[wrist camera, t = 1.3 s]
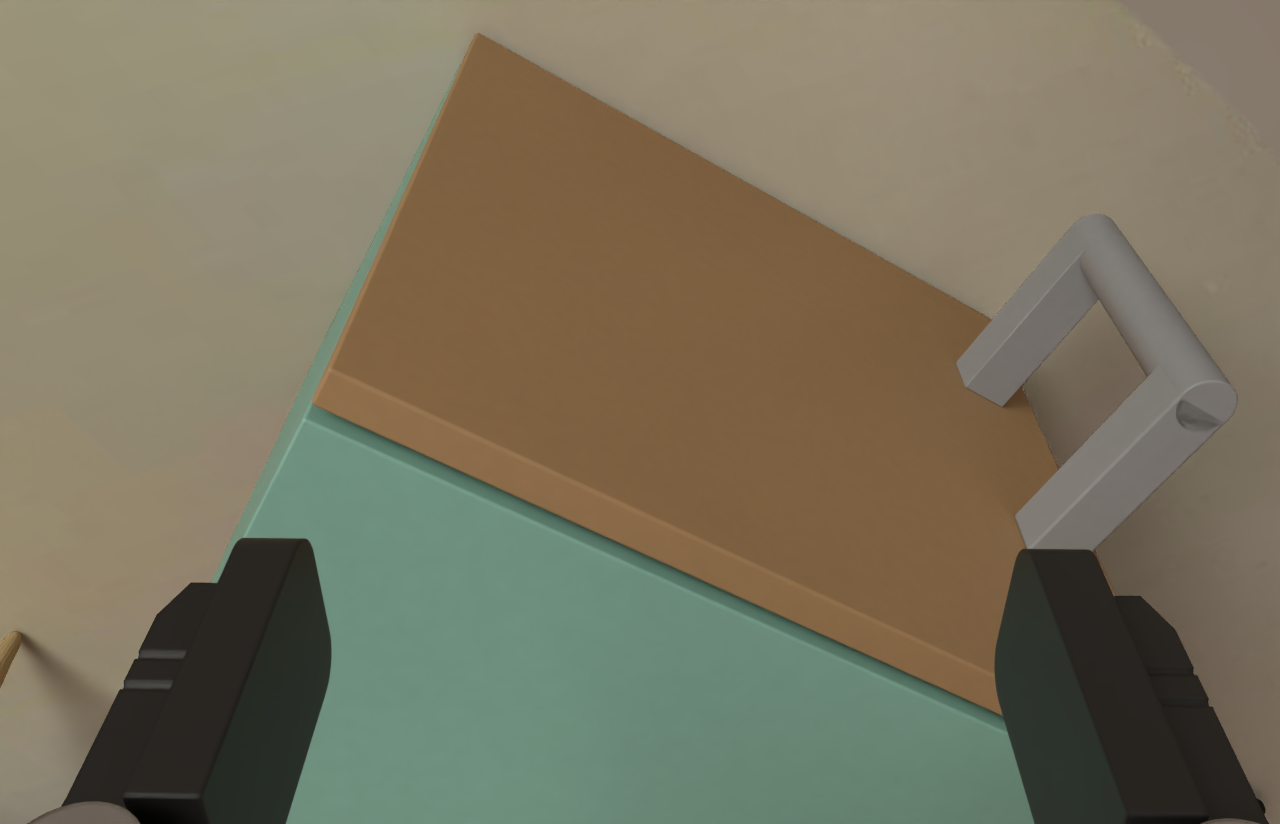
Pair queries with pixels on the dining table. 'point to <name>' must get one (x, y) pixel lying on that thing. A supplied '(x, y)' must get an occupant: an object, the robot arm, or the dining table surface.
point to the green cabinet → (579, 665)
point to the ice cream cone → (8, 652)
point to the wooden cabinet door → (747, 376)
